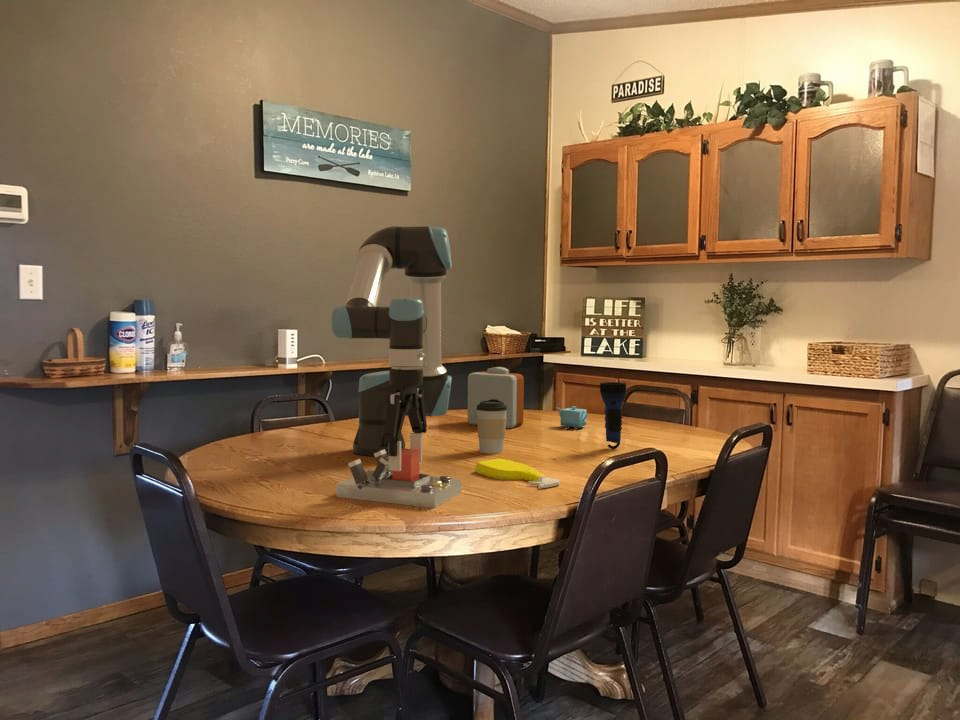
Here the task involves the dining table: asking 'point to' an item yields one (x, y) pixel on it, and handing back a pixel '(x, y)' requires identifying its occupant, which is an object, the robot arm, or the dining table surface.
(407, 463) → the lockout cap
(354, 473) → the breaker
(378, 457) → the breaker
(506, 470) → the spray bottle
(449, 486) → the panel
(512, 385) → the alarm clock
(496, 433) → the coffee cup
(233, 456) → the dining table surface
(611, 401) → the flashlight
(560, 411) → the teapot
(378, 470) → the breaker
